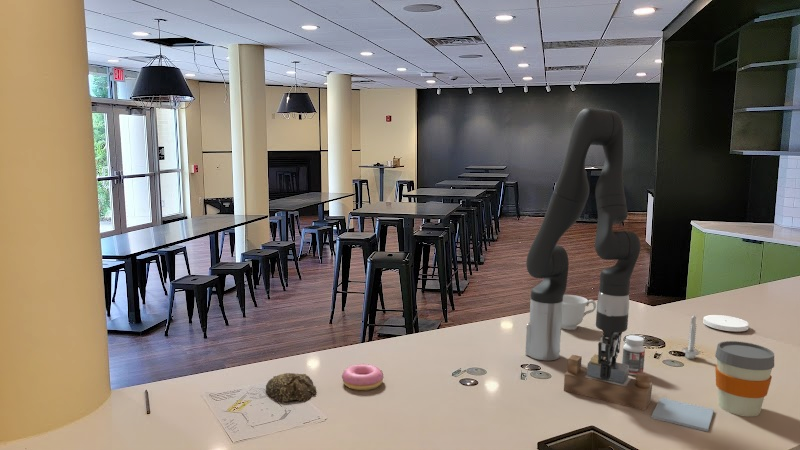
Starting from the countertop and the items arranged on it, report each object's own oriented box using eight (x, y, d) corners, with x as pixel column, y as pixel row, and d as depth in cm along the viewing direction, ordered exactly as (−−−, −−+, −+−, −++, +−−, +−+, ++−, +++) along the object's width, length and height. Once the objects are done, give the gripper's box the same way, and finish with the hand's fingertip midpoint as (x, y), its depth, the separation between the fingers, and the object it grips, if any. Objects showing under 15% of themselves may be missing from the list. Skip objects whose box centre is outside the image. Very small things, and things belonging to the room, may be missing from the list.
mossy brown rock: (262, 386, 160) (262, 368, 159) (309, 380, 164) (309, 362, 164) (273, 407, 148) (272, 387, 147) (323, 399, 153) (323, 380, 152)
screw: (701, 357, 185) (694, 361, 182) (685, 353, 189) (678, 357, 186) (705, 316, 183) (698, 319, 180) (689, 312, 187) (682, 315, 184)
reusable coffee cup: (767, 424, 143) (775, 362, 141) (707, 411, 150) (713, 351, 147) (769, 405, 153) (776, 347, 151) (713, 393, 160) (718, 337, 158)
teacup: (599, 333, 206) (601, 304, 204) (554, 332, 206) (556, 303, 205) (589, 322, 218) (591, 294, 216) (546, 321, 218) (548, 293, 217)
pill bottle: (644, 376, 170) (647, 342, 168) (623, 374, 171) (625, 340, 170) (641, 369, 175) (643, 335, 174) (620, 367, 177) (622, 333, 175)
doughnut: (364, 372, 170) (364, 358, 169) (392, 384, 162) (392, 369, 161) (333, 383, 162) (333, 368, 162) (360, 396, 155) (360, 380, 154)
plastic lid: (697, 320, 224) (697, 313, 223) (738, 323, 222) (739, 316, 221) (711, 333, 210) (711, 325, 209) (755, 335, 208) (755, 328, 208)
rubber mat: (651, 417, 145) (651, 415, 145) (660, 399, 155) (660, 397, 155) (707, 431, 139) (707, 429, 139) (713, 411, 149) (713, 409, 149)
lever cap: (586, 375, 157) (588, 358, 157) (592, 369, 161) (593, 353, 161) (623, 383, 152) (624, 366, 152) (628, 377, 157) (629, 360, 156)
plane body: (563, 390, 160) (565, 360, 159) (571, 381, 166) (573, 352, 165) (645, 410, 149) (647, 378, 148) (650, 399, 155) (653, 369, 154)
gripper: (604, 301, 162) (600, 363, 165) (589, 314, 150) (584, 380, 153) (634, 306, 158) (629, 369, 161) (621, 320, 146) (615, 388, 149)
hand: (607, 374), depth 157 cm, fingers closed on lever cap, 5 cm apart
